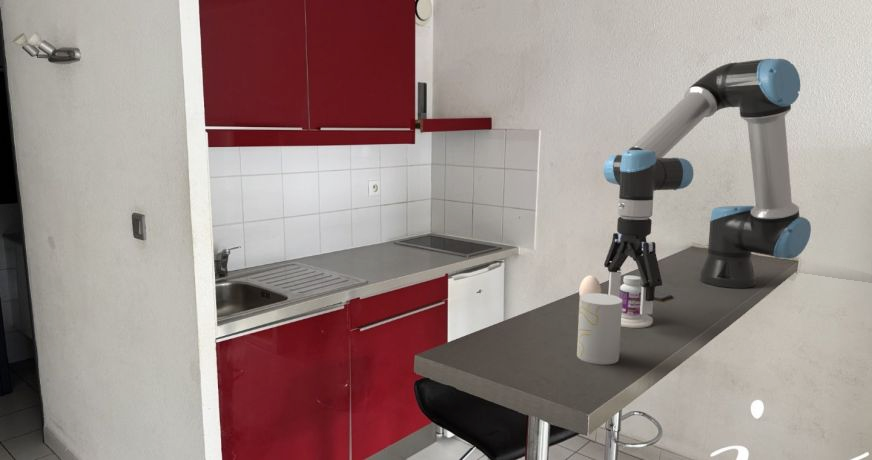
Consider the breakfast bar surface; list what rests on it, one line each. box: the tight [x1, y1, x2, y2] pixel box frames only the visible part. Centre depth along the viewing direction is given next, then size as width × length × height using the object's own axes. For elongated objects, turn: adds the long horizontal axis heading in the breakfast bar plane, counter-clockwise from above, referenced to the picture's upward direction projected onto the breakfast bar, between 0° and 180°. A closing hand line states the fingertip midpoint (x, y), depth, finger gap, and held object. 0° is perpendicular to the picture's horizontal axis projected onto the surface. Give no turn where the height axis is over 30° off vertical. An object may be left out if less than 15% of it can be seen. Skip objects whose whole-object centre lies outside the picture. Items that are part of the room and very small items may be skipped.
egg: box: [578, 275, 602, 297], centre depth 155 cm, size 6×6×8 cm
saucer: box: [621, 314, 654, 329], centre depth 143 cm, size 11×11×1 cm
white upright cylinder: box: [576, 292, 622, 365], centre depth 119 cm, size 8×8×12 cm
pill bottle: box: [619, 274, 642, 319], centre depth 142 cm, size 5×5×10 cm
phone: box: [653, 291, 674, 303], centre depth 166 cm, size 6×1×15 cm
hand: (629, 305), depth 142 cm, fingers open, 13 cm apart
